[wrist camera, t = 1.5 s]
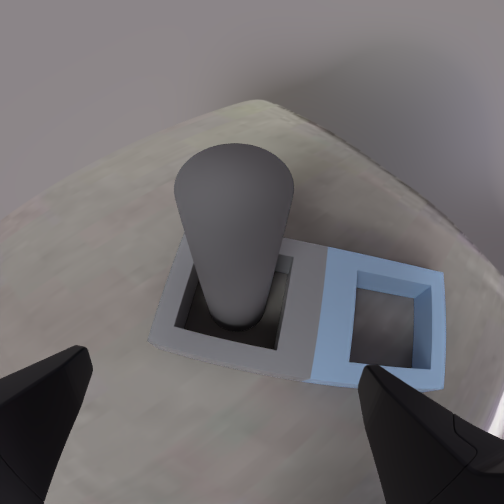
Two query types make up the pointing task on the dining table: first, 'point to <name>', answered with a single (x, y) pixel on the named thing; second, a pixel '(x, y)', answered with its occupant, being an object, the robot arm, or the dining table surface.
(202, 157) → the plug
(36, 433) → the robot arm
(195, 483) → the dining table surface
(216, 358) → the two-hole peg board
